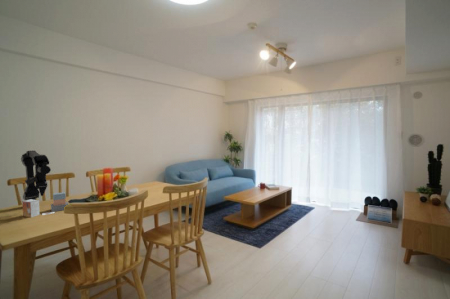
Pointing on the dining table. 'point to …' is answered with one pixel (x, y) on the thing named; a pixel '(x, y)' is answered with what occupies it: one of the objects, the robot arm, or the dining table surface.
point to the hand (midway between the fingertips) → (41, 194)
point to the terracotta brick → (59, 202)
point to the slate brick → (59, 196)
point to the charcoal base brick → (58, 207)
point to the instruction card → (48, 213)
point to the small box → (31, 208)
